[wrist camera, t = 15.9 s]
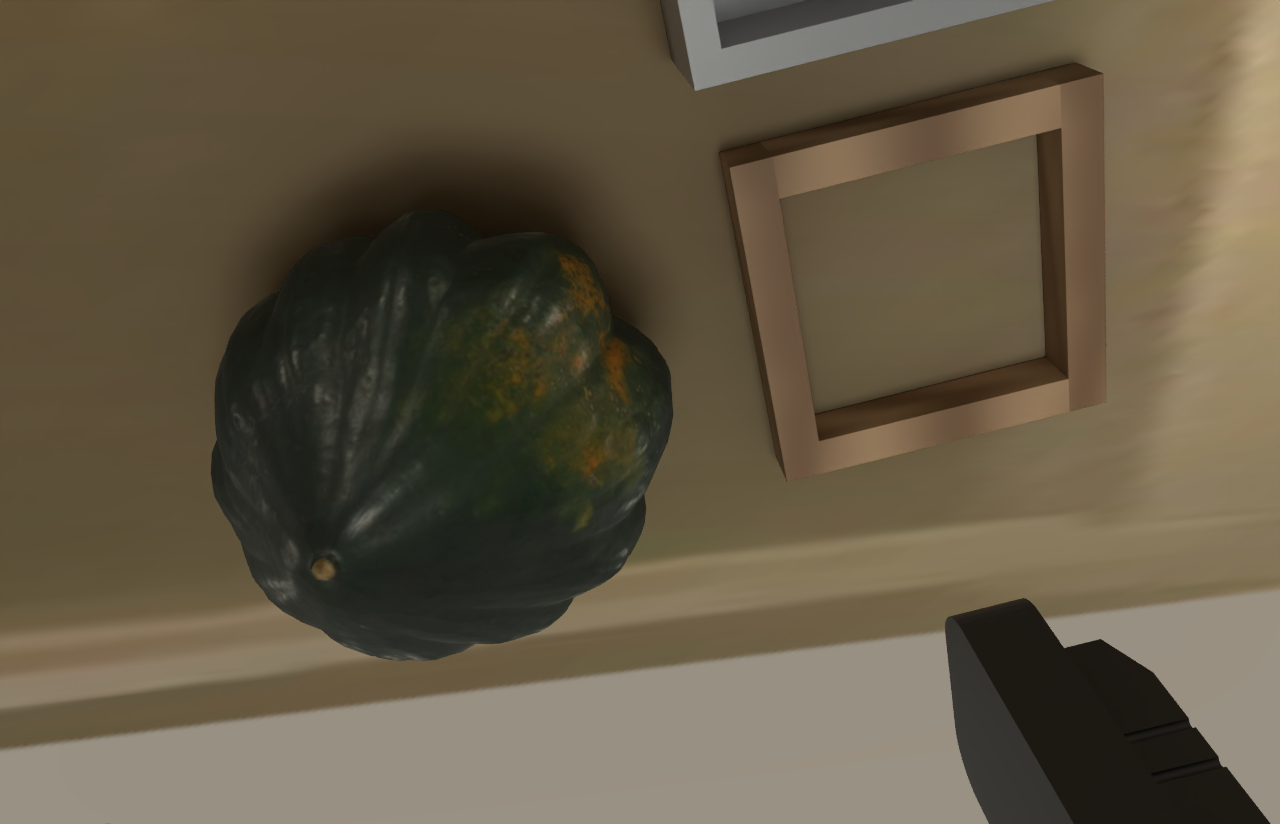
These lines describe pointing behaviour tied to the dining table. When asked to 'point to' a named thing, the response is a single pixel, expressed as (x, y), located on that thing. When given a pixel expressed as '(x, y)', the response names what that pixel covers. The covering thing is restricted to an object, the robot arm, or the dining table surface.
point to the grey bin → (799, 30)
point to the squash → (437, 436)
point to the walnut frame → (901, 137)
